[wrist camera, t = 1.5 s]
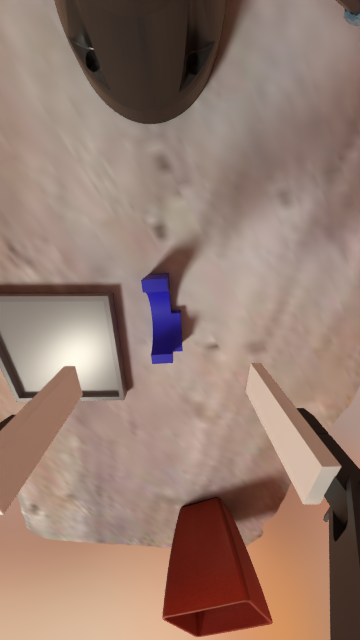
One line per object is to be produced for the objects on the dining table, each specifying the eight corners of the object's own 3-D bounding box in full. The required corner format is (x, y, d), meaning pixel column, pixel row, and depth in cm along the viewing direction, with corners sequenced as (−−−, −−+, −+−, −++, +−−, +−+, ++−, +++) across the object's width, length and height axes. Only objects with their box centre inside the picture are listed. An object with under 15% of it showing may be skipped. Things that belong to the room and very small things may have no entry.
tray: (-19, 293, 26) (-34, 296, 24) (112, 293, 26) (107, 296, 24) (25, 393, 33) (16, 401, 31) (127, 391, 34) (124, 399, 32)
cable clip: (181, 342, 30) (183, 362, 24) (156, 343, 30) (152, 363, 24) (178, 272, 26) (179, 278, 20) (148, 274, 26) (141, 280, 20)
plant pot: (225, 487, 47) (250, 603, 32) (245, 517, 54) (274, 625, 38) (165, 504, 50) (160, 619, 34) (191, 530, 56) (196, 637, 41)
